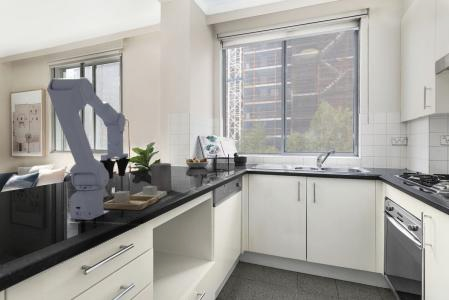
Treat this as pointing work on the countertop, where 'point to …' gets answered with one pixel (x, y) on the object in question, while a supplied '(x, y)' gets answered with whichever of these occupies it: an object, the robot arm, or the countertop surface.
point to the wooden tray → (132, 203)
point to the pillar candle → (161, 176)
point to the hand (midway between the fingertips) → (115, 177)
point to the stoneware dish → (159, 194)
